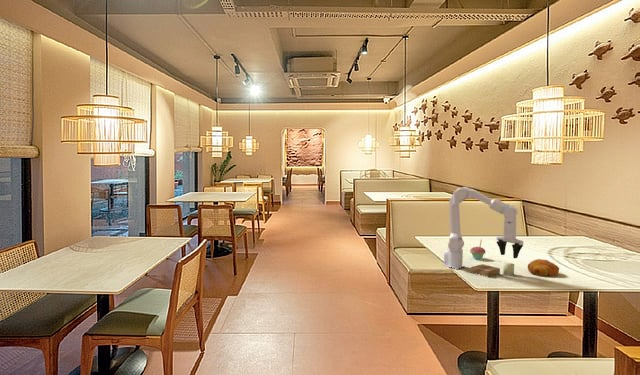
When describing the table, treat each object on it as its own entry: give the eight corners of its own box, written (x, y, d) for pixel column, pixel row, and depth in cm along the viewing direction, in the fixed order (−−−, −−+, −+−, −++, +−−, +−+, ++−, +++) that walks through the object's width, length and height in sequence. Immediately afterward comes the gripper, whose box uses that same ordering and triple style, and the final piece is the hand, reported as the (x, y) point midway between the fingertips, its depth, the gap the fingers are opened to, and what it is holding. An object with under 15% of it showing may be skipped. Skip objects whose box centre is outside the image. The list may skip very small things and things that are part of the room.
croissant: (523, 277, 217) (522, 262, 216) (534, 267, 228) (533, 253, 227) (554, 282, 207) (553, 267, 206) (563, 272, 218) (563, 257, 216)
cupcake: (481, 256, 252) (482, 237, 251) (487, 260, 244) (488, 240, 243) (467, 257, 252) (468, 237, 251) (473, 260, 243) (473, 240, 242)
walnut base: (471, 272, 218) (471, 267, 218) (482, 269, 224) (482, 264, 223) (488, 277, 210) (488, 271, 210) (499, 273, 216) (500, 268, 215)
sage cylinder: (501, 274, 215) (501, 263, 215) (506, 272, 218) (507, 262, 218) (510, 276, 211) (510, 265, 211) (515, 274, 214) (516, 264, 214)
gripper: (492, 228, 218) (491, 254, 219) (516, 233, 205) (515, 260, 206) (502, 227, 221) (501, 252, 222) (526, 231, 208) (525, 258, 209)
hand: (509, 256), depth 214 cm, fingers open, 7 cm apart
